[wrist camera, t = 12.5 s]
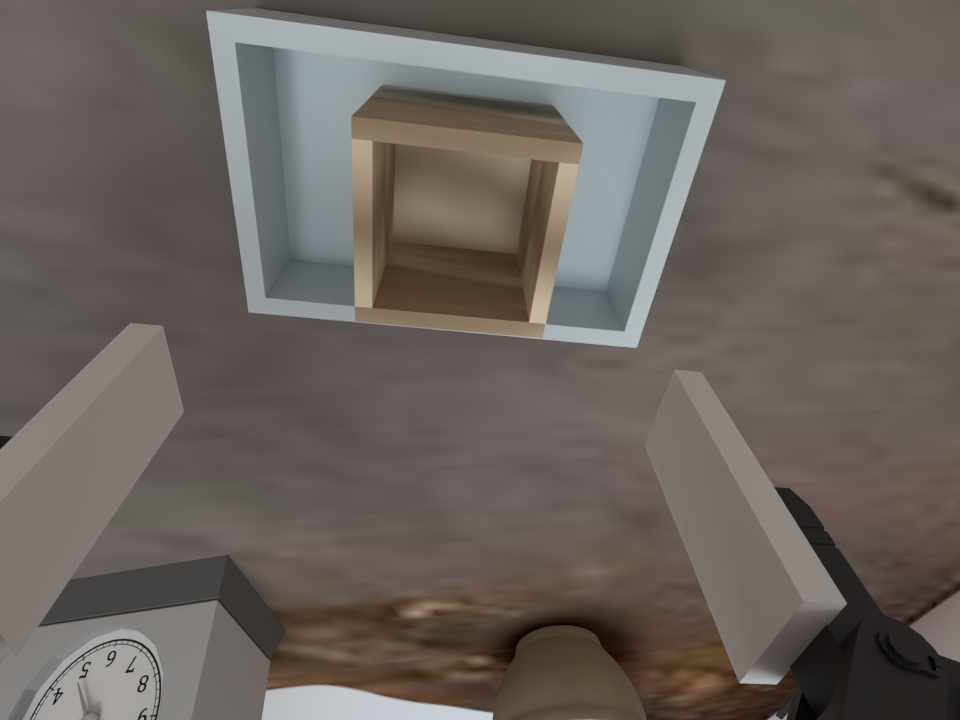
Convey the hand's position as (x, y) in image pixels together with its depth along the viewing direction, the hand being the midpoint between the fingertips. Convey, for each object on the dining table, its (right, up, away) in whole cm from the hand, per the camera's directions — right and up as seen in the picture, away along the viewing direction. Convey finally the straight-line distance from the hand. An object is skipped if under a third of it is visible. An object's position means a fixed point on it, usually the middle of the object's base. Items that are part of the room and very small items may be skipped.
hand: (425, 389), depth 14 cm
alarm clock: (-31, -26, +42) cm, 58 cm away
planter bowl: (+10, -32, +47) cm, 58 cm away
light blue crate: (0, +12, +17) cm, 21 cm away
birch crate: (0, +11, +16) cm, 20 cm away
